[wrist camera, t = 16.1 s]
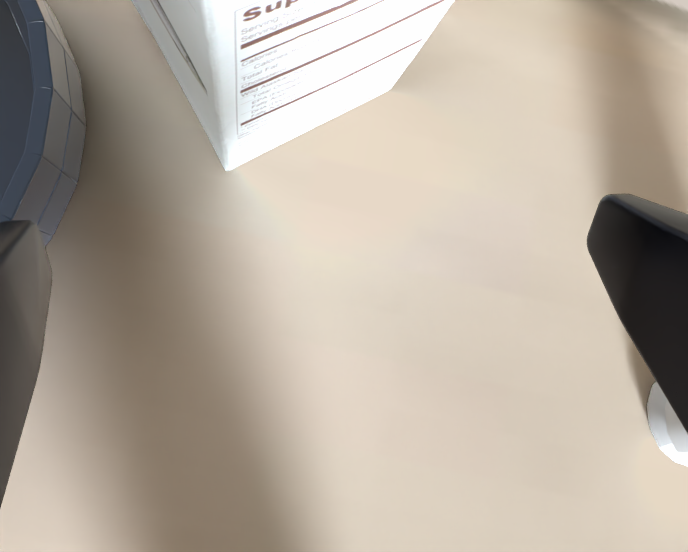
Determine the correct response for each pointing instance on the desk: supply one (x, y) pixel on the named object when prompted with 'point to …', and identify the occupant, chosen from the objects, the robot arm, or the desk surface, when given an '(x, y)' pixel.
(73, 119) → the basin
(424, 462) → the desk surface
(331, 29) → the white packaging box
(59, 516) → the desk surface
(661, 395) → the rook chess piece
